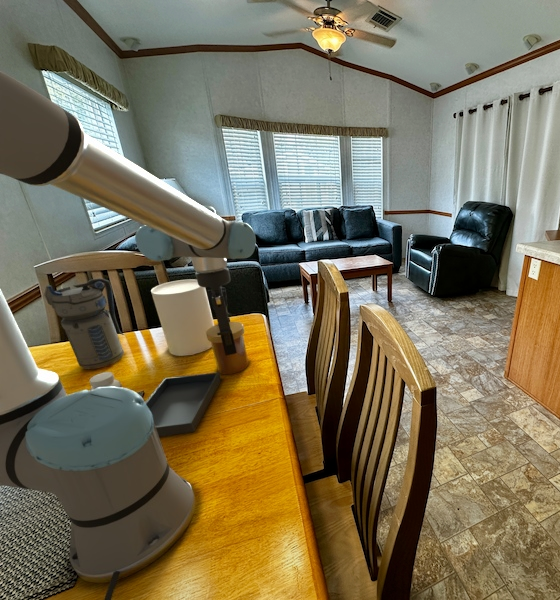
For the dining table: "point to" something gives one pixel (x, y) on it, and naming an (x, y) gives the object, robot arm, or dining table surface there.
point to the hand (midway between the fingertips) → (230, 345)
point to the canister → (184, 316)
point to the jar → (230, 357)
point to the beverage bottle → (88, 322)
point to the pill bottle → (104, 380)
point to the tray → (181, 402)
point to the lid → (212, 332)
